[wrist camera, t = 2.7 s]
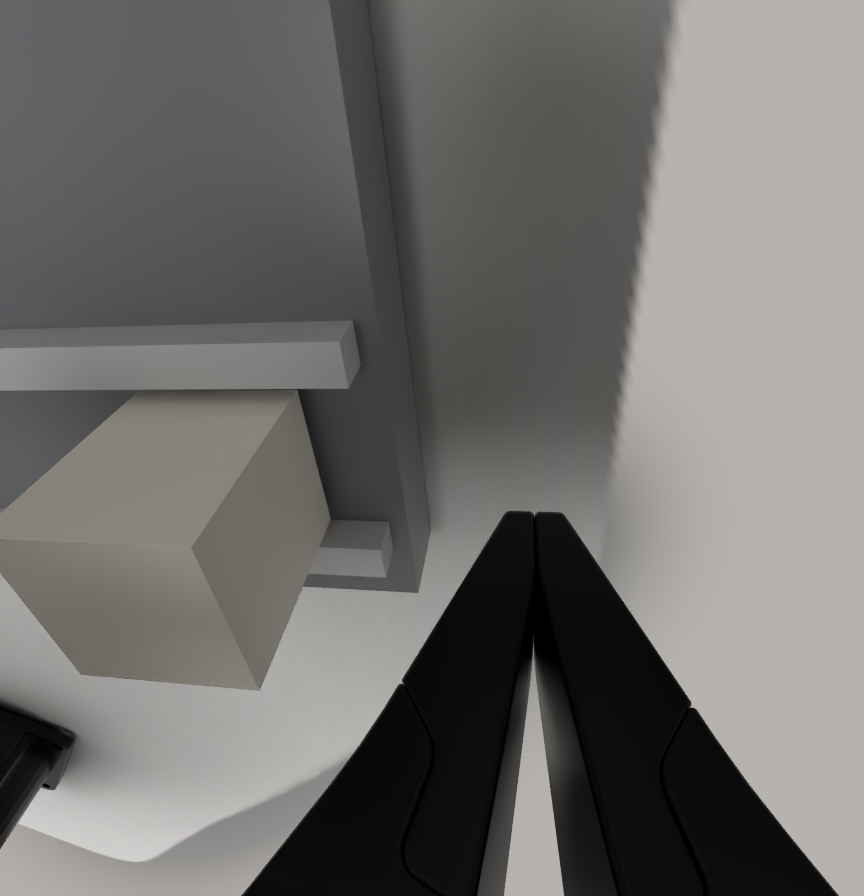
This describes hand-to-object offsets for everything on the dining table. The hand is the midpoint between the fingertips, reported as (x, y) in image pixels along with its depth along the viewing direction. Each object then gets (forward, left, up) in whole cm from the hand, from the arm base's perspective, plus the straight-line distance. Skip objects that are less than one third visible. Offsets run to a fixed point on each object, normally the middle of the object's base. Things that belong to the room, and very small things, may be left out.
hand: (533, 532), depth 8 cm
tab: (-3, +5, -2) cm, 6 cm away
